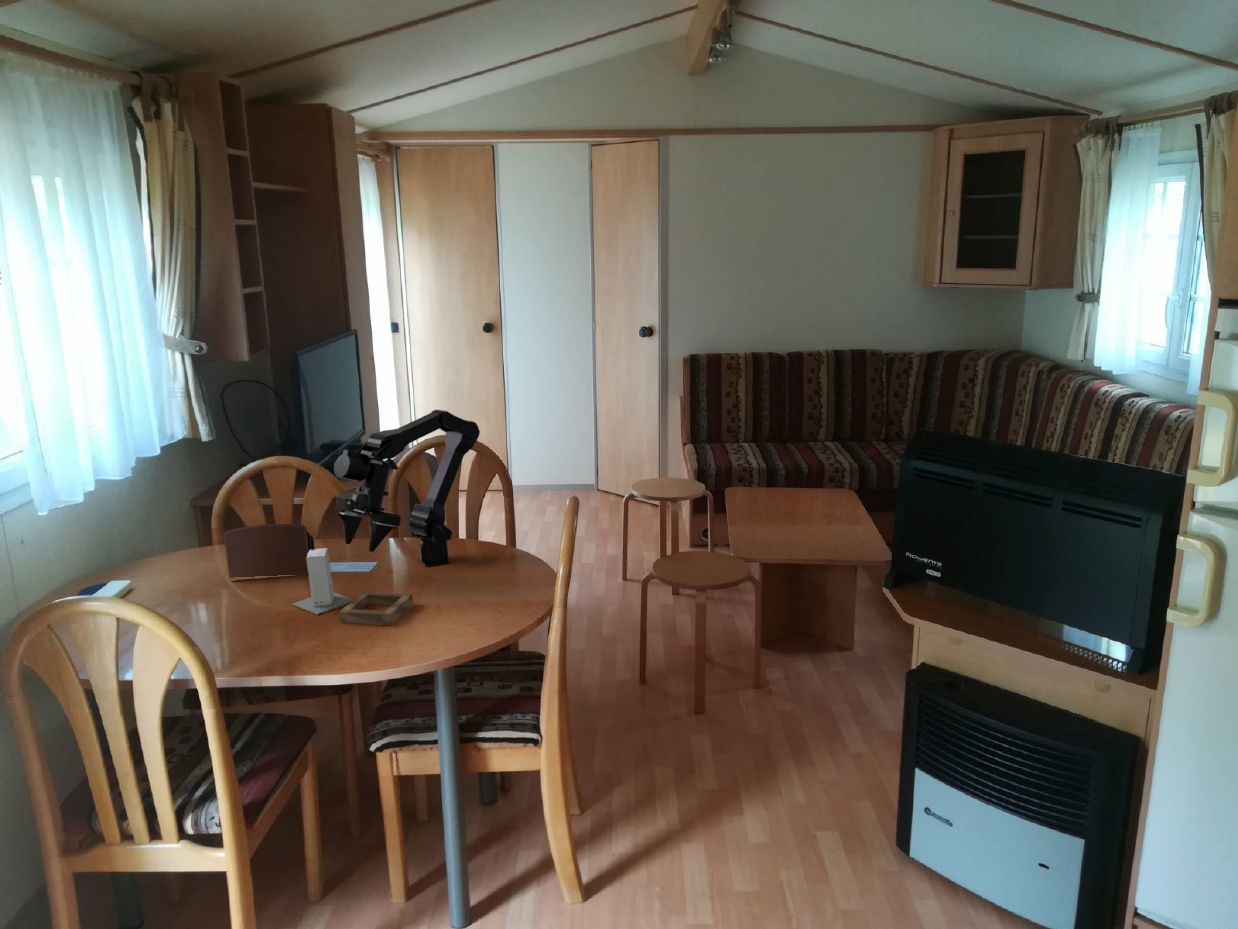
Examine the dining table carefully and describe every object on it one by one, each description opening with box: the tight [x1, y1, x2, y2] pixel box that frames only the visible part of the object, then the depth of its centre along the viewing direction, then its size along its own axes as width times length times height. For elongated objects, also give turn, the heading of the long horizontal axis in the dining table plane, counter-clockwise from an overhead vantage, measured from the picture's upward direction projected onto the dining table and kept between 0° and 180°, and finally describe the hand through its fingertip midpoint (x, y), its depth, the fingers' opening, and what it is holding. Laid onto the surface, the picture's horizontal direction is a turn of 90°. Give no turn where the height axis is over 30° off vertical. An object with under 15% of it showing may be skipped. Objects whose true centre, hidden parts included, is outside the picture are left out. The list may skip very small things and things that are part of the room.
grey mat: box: [291, 592, 355, 616], centre depth 213 cm, size 10×10×1 cm
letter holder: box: [223, 523, 316, 579], centre depth 233 cm, size 10×20×14 cm, turn 100°
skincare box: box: [306, 547, 335, 606], centre depth 212 cm, size 6×4×12 cm
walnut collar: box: [338, 591, 414, 626], centre depth 206 cm, size 12×12×2 cm
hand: (359, 547), depth 220 cm, fingers open, 9 cm apart
